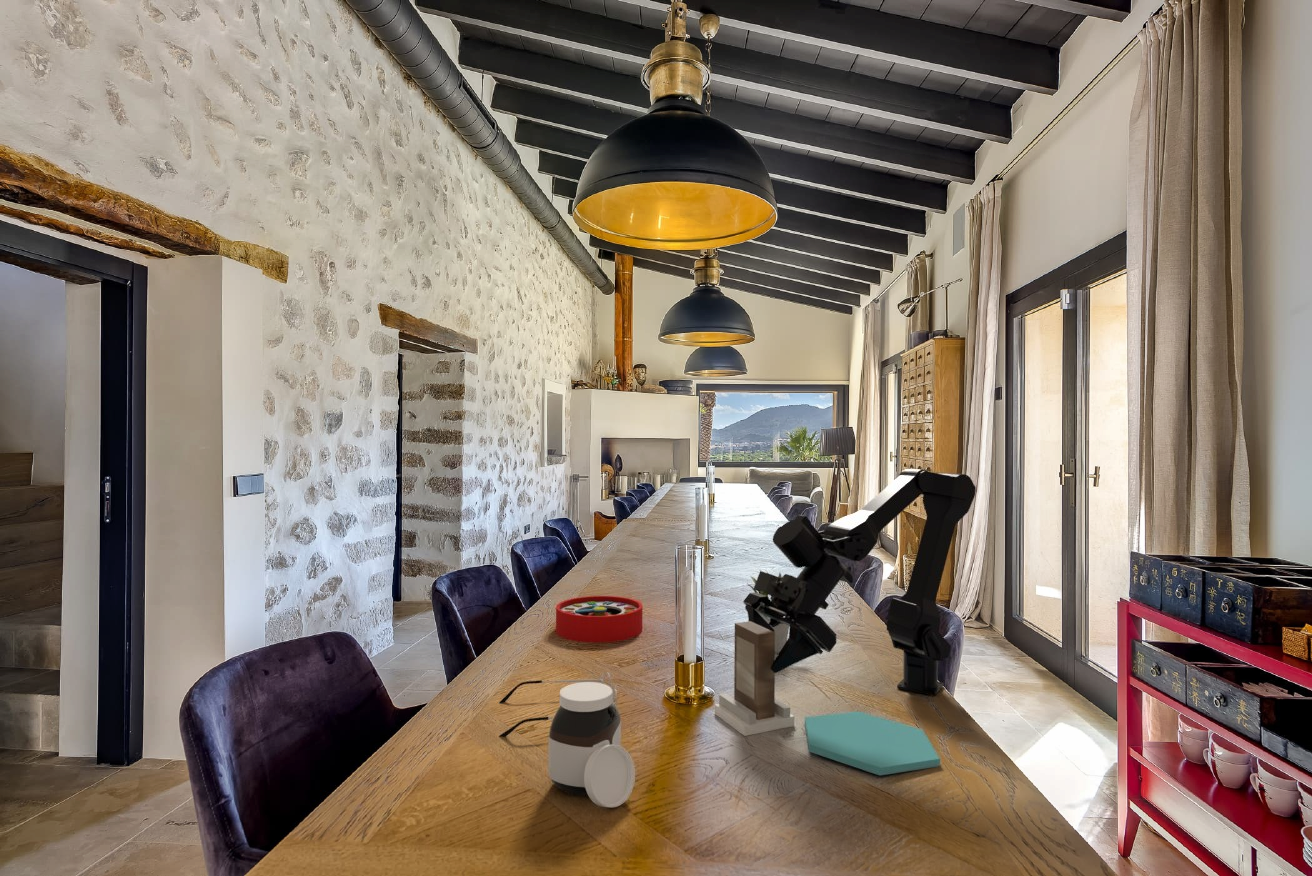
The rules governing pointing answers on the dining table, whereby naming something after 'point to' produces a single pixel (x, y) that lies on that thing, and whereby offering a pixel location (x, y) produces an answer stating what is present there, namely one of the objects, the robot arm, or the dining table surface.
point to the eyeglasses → (554, 681)
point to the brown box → (754, 668)
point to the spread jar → (590, 746)
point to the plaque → (870, 743)
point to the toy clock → (599, 619)
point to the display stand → (752, 716)
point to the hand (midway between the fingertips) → (756, 661)
